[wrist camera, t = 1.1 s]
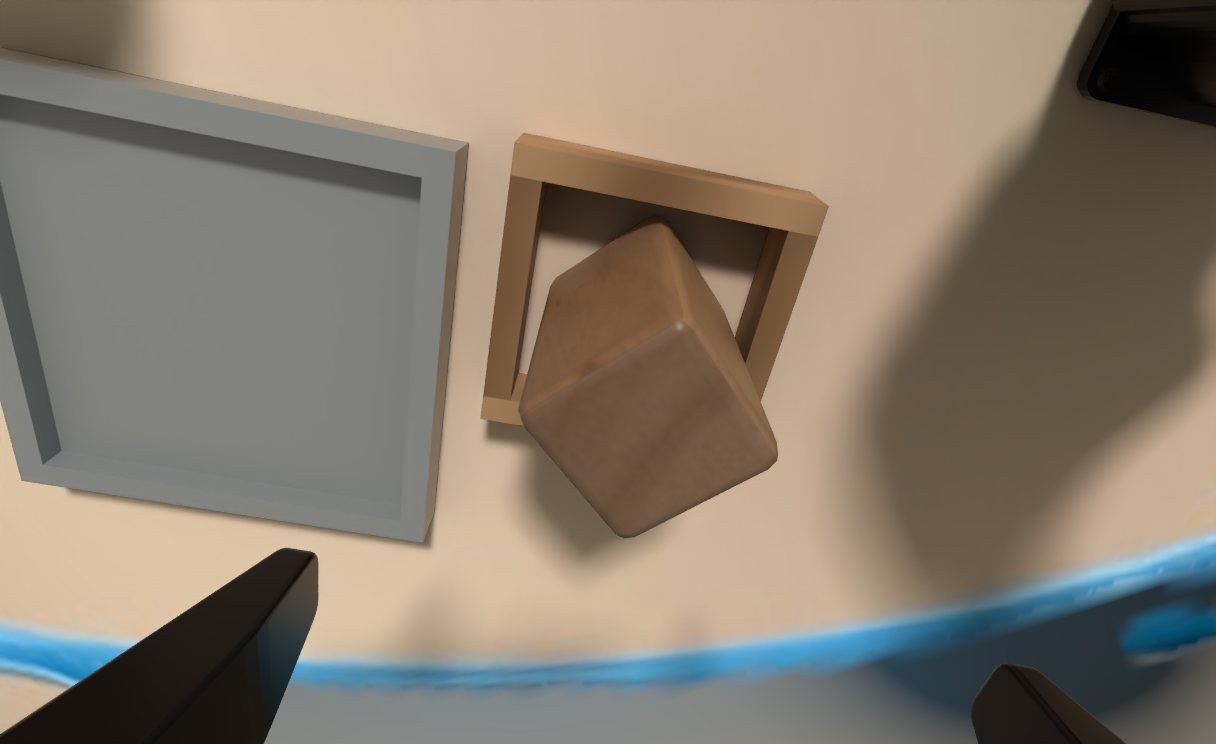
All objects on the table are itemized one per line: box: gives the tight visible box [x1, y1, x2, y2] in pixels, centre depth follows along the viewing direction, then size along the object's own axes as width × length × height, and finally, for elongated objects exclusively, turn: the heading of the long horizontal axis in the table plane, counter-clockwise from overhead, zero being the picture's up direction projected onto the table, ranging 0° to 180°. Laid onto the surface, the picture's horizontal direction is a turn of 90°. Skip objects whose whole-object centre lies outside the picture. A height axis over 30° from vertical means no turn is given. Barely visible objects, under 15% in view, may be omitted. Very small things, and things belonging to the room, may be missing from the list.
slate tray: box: [0, 48, 469, 543], centre depth 19 cm, size 13×13×2 cm
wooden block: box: [518, 216, 778, 538], centre depth 16 cm, size 4×4×8 cm
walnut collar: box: [481, 133, 829, 426], centre depth 19 cm, size 8×8×2 cm
